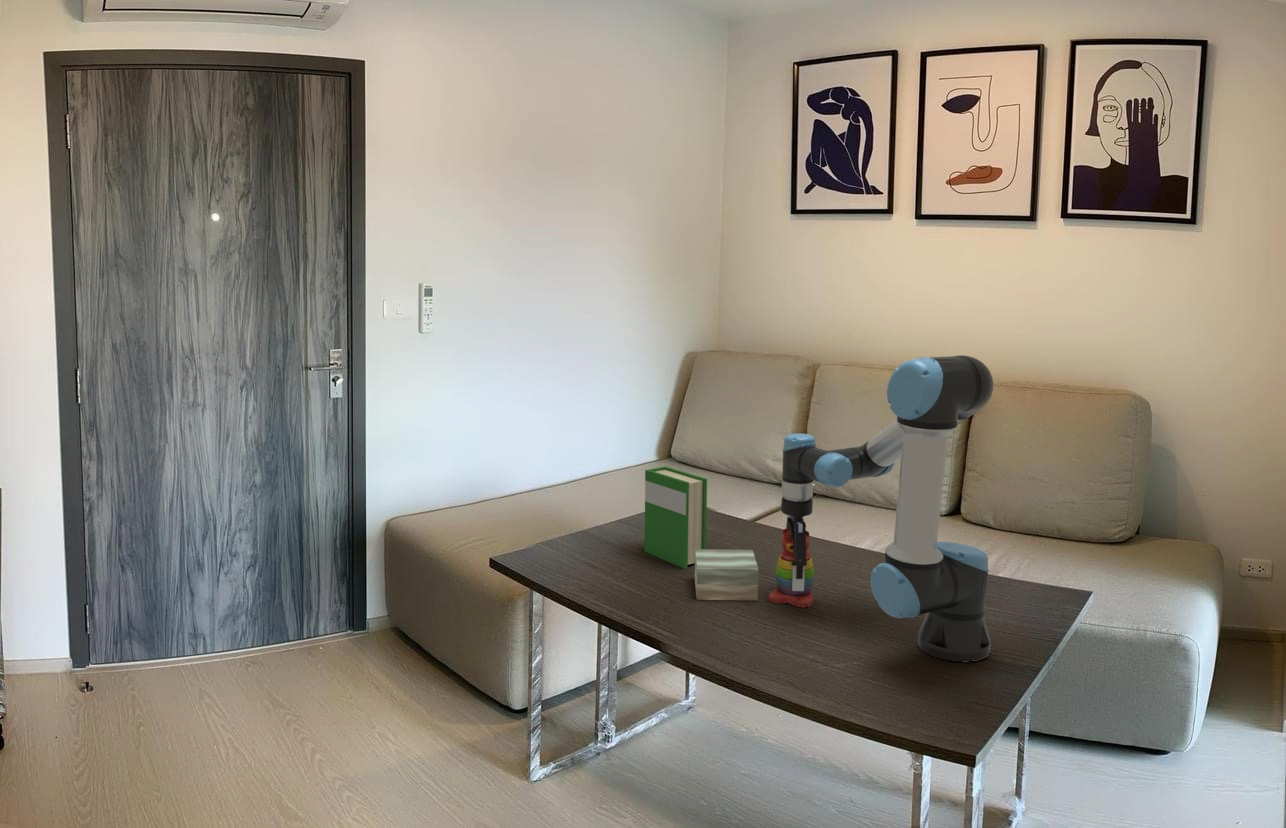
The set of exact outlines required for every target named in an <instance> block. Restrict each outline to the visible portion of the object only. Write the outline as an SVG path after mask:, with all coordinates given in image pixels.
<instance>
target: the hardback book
mask: <svg viewBox="0 0 1286 828" xmlns="http://www.w3.org/2000/svg"><path fill="white" fill-rule="evenodd" d="M644 475H645V476H644V477H645V478H644V482H645V483H644V553H646V552H647V553H646V554H648V553H649V554H648V555H650V554H651V555H650V556H653V555H654V556H653V557H655V556H656V557H655V558H657V557H658V559H659V560H662V559H663V560H662V561H666V562H667V563H669V562H670V564H672V565H674V566H678V567H680V568H681V569H684V570H685V569H688V565H691V564H692V565H693V564H695V549H707V545H706V544H707V512H708V511H707V507H708V506H707V505H708V504H707V503H708V501H707V500H708V495H707V494H708V478H707V477H703V476H700V475H696V474H692V473H689V472H686V471H682V470H679V469H675V468H672V467H669V466H660V467H656V468H649V469H645V472H644Z"/></svg>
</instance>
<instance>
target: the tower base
mask: <svg viewBox="0 0 1286 828" xmlns="http://www.w3.org/2000/svg"><path fill="white" fill-rule="evenodd" d="M759 573H760V571H759V566H758V563H757V560H756V556H755V553H754V550H753V549H708V548H706V549H695V563H694V586H695V587H694V588H695V597H696V600H697V601H705V600H706V601H716V600H717V601H758V600H759V599H758V598H759Z"/></svg>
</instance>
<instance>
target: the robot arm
mask: <svg viewBox="0 0 1286 828" xmlns="http://www.w3.org/2000/svg"><path fill="white" fill-rule="evenodd" d="M887 383H888V384H887V386H886V387H887V389H886V397H887V402H888V404H890V406H889V407H890V410H891V412H892V413H893V414H894V415H895V416H896V420H894V421H893V422H892V423H890V424H889V425H887V426H886V427H884V429H883V430H881V431H879V432H878V433H877V434H875V435H874V436H873V437H872V438H870V439H869V440H868V441H866V442H864V443H863V444H862V445H860V446H854V447H853V446H852V447H847V448H846V447H845V448H838V449H837V448H836V449H830V450H829V449H828V450H826V449H822V448H819V447H816V438H815V436H814V435H811V434H808V433H807V434H806V433H791V434H787V435H786V436H785V437H784V439H783V440H784V441H783V447H782V448H783V449H782V473H781V475H782V479H781V496H782V497H781V501H780V502H781V505H780V508H781V509H780V512H782V514H784V515H786V516H787V518H786V525H785V529H789V530H790V538H791V539H792V540H793V552H794V562H792V563H791V566H793V581H792V591H804V575H805V566H806V565H807V562H806V531H807V529H806V528H807V525H806V521H805V520H804V517H808V516H810V515H812V513H813V504H814V503H813V501H814V500H813V498H812V497H813V495H814V490H813V489H815V488H817V487H816V486H817V485H816V484H815V483H814V481H815V482H818V483H820V484H822V485H825V486H828V487H834V488H840V487H843V486H844V485H846V484H847V483H848V482H849V481H853V480H857V479H858V480H859V479H867V478H877V477H880V476H883V475H884V476H885V475H887V474H889V473H890V472H891V471H892V470H893V467H894V466H895V463H896V462H897V461H898V460H900V469H899V476H898V477H899V479H898V480H899V481H898V489H897V501H896V512H895V523H894V532H893V534H894V535H893V541H892V542H891V543H890V544H888V545H887V546H885V549H884V550H885V551H884V560H883V563H879V564H877V565H876V566H875V567H874V568H873V569H872V571H871V573H870V588H871V592H872V594H873V597H874V600H875V601H876V602H877V604H878V606H879V607H880V608H881V609H882V611H884V612H885V613H886V614H887V615H888V616H890V617H892V618H895V619H905V618H915V617H917V616H920V615H924V614H925V616H924V619H923V622H922V623H921V626H920V628H919V631H918V633H917V634H918V635H917V646H918V648H919V649H920V650H921V651H922V652H924V653H925V654H927V655H929V656H930V657H933V656H934V657H933V658H936V657H937V658H936V659H939V658H942V659H941V660H943V659H946V660H945V661H947V660H954V661H955V660H956V661H972V660H978V659H981V658H984V657H986V656H988V654H989V653H990V654H991V647H992V643H991V642H992V641H991V639H990V634H989V630H988V628H987V623H986V621H985V612H986V611H985V609H986V602H987V600H986V598H987V590H988V589H987V588H988V578H989V577H988V576H989V572H990V570H989V558H988V557H989V556H988V555H987V553H985V552H984V551H983V550H982V549H979V548H978V547H975V546H971V545H968V544H965V543H959V542H952V541H938V537H939V535H938V534H939V527H940V526H939V525H940V518H941V517H940V516H941V508H942V507H941V506H942V496H943V487H944V479H945V478H944V477H945V466H946V460H947V459H946V458H947V448H948V439H949V435H950V434H952V432H954V431H955V430H956V429H957V427H958V421H960V422H961V421H965V420H967V419H968V418H970V417H971V416H973V415H974V414H976V413H977V412H979V411H980V410H981V409H983V408H984V407H985V406H986V405H987V403H988V402H989V401H990V400H991V397H992V395H993V391H994V379H993V375H992V373H991V371H990V369H989V368H988V367H987V365H986V364H985V363H984V362H982V361H981V360H980V359H978V358H975V357H972V356H969V355H955V356H953V355H951V356H930V357H924V356H923V357H918V358H915V359H910V360H907V361H904V362H902V363H901V364H899V366H897V367H896V368H894V370H893V372H892V374H891V376H890V377H889V379H888V382H887ZM798 560H802V561H798Z"/></svg>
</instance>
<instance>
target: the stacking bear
mask: <svg viewBox="0 0 1286 828" xmlns="http://www.w3.org/2000/svg"><path fill="white" fill-rule="evenodd" d="M782 535H783V536H782V539H781V545H782V548H783V551H781V553H780V554H779V557H778V559H777V564H776V567H775V580H776V585H777V588H775V589H773V590H772V591H771V592H770V593H769V594H768V597H767V599H768V601H769V602H770V603H774V604H786V603H789V604H788V605H791V604H792V606H794V605H795V606H794V607H796V606H797V608H799V607H802V608H801V609H805V607H808V608H810V607H811V606H812V605H813V604H814V595H813V593H812V587H813V584H814V579H815V570H814V564H813V559H812V557H811V555H810V553H809V552H808V549H809V546H810V538H809V537H810V532H809V531H808V530H806V562H807V565H806V566H805V575H804V591H792V581H793V566H791V563H792V562H794V552H793V540H792V539H791V538H790V530H789V529H786V528H784V529H783V530H782ZM798 561H802V560H798Z"/></svg>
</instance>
